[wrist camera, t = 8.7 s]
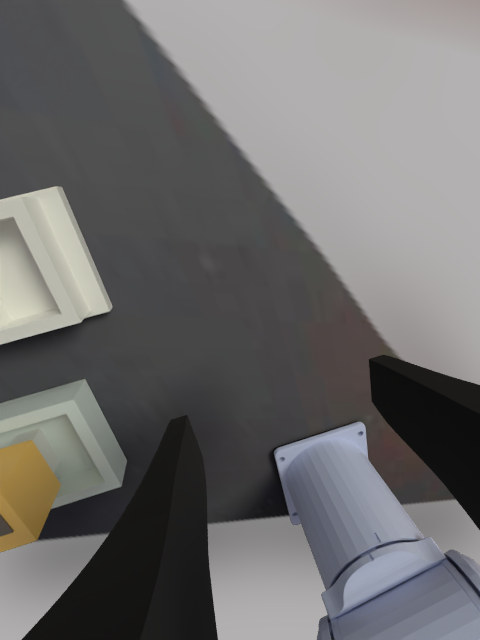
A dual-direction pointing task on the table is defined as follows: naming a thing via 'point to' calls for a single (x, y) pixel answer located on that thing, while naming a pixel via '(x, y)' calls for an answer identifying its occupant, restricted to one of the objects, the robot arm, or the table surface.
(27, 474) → the block
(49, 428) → the parts tray
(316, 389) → the table surface
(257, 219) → the table surface
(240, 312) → the table surface
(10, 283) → the white open box
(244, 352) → the table surface
